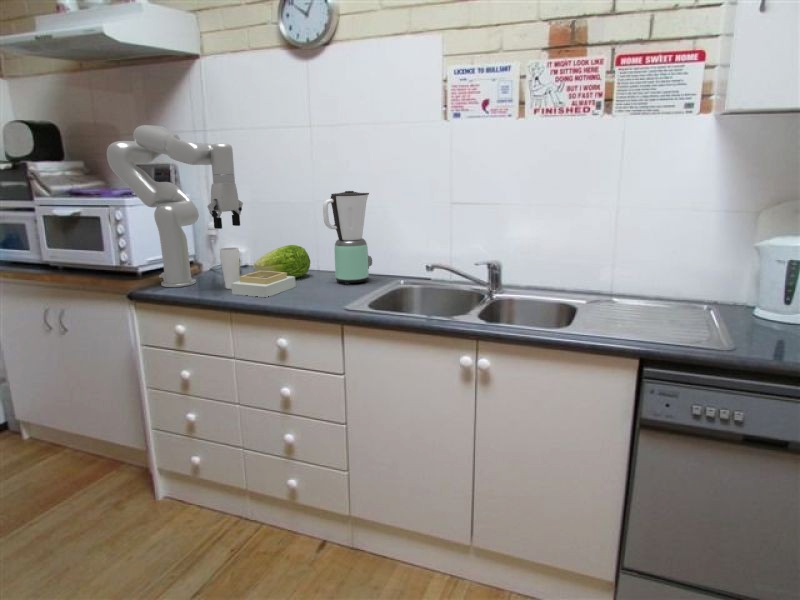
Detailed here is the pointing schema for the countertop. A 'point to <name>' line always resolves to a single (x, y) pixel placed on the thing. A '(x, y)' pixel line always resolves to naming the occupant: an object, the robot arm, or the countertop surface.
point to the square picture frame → (263, 284)
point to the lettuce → (285, 261)
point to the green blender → (349, 236)
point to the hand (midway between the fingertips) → (227, 227)
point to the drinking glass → (230, 265)
